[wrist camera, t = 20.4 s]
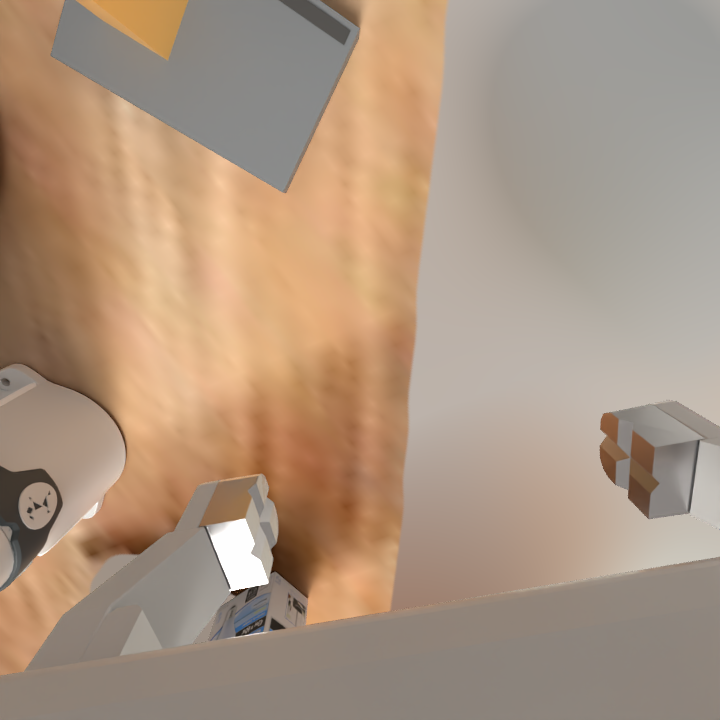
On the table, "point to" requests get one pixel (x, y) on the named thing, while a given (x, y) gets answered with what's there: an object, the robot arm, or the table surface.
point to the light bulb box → (261, 610)
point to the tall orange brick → (142, 20)
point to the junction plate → (225, 75)
